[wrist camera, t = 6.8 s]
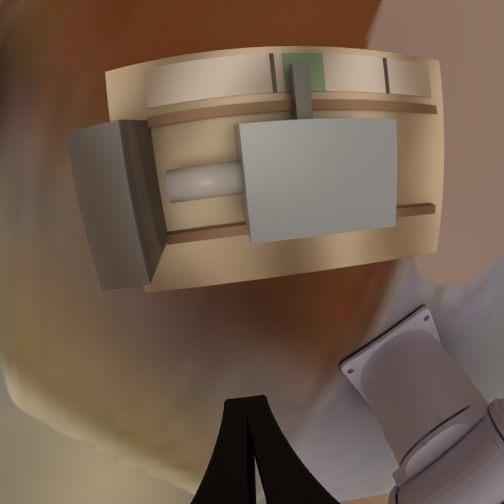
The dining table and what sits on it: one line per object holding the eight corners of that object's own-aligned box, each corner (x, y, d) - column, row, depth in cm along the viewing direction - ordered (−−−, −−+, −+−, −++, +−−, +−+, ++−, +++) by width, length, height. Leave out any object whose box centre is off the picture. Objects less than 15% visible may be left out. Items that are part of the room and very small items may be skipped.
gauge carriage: (351, 68, 13) (390, 55, 10) (357, 202, 16) (395, 226, 12) (163, 80, 13) (144, 65, 9) (182, 222, 15) (172, 254, 12)
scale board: (427, 63, 14) (498, 53, 9) (427, 245, 19) (485, 288, 13) (112, 75, 13) (59, 54, 8) (149, 282, 18) (124, 350, 12)
